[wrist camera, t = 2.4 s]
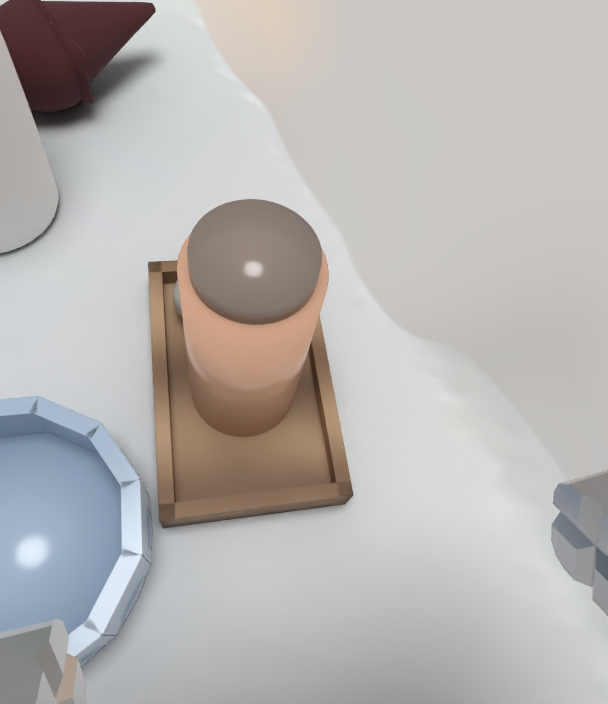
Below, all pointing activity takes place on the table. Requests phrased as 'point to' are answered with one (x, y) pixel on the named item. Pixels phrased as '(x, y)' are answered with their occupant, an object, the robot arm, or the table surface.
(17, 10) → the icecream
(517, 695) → the table surface
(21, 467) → the bowl
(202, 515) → the tray
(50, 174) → the milk bottle
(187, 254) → the jar
